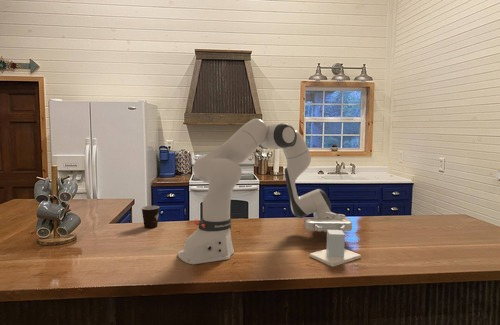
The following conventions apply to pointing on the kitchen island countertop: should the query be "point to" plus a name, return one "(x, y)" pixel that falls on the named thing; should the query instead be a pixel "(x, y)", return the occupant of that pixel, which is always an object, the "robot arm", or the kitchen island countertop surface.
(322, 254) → the post board
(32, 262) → the kitchen island countertop surface
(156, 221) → the coffee mug
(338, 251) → the tall grey rectangular prism
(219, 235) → the robot arm
